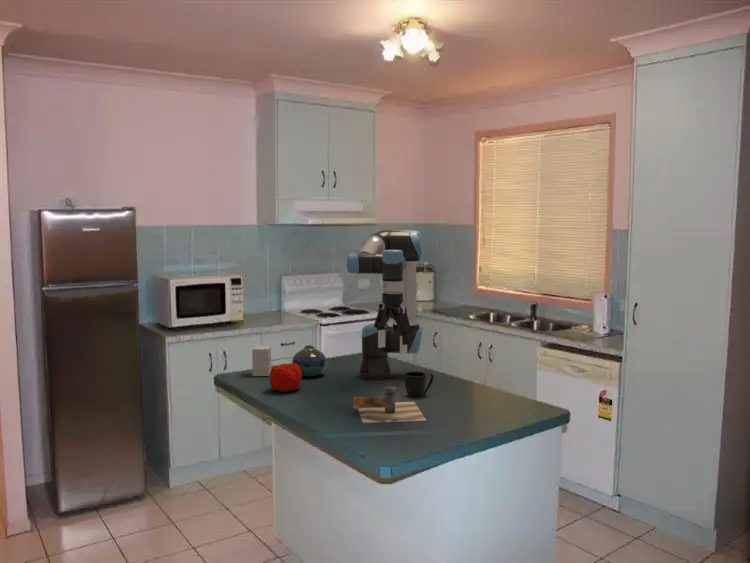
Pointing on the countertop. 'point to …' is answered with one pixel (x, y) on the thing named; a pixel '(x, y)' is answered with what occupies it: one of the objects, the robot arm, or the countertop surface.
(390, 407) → the peg lever
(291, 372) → the tomato
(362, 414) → the dial board
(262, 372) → the supplement box
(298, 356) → the vase
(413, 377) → the mug
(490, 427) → the countertop surface
